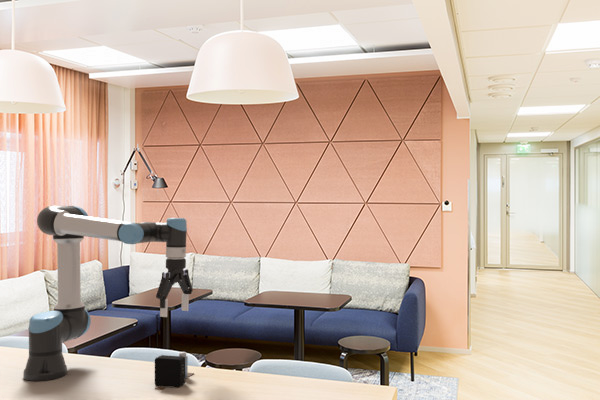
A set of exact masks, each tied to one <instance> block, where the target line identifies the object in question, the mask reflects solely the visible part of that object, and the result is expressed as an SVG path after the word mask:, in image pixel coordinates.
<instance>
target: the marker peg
mask: <svg viewBox="0 0 600 400" xmlns="http://www.w3.org/2000/svg"><path fill="white" fill-rule="evenodd" d="M178 356H182V357H185V379H187V378H188V377H187V376H188V373H189V372H188V371H189V369H188V363H189V362H188V360H189V359H188V355H187V352H186V351H179V353H178ZM186 377H187V378H186Z"/></svg>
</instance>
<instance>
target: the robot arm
mask: <svg viewBox="0 0 600 400" xmlns="http://www.w3.org/2000/svg"><path fill="white" fill-rule="evenodd" d="M36 223H37V228H38V229H39V230H40V231H41V232H42V233H43V234H45V235H48V236H52V240H53V241H54V242H55V243H56V244H57V245H56V246H57V249H56V252H57V254H56V255H57V257H56V258H57V263H56V264H57V303H56V305H55V306H54V307H53V310H47V311H42V312H38V313H36V314H34V315H32V316H31V317H30V319H29V325H28V358H27V362H26V365H25V368H24V369H23V374H22V375H23V380H26V381H29V382H31V381H32V382H41V381H42V382H43V381H44V382H45V381H50V380H56V379H59V378H62V377H64V376H66V375H67V374H68V366H67V365H66V360H65V358H64V354H63V343H66V342H68V341H72V340H76V339H78V338H80V337H82V336H84V335H86V333H87V332H88V331H89V329H90V327H91V323H92V321H91V320H92V317H91V314H90V313H89V312H88V310H87V309H86V305H85V303H84V302H83V301H82V299H81V297H82V296H81V290H82V289H81V286H82V285H81V242H82V241H83V240H84V239H85V238H84V237H88V238H95V239H100V240H101V239H102V240H109V241H115V242H121V243H123V244H124V245H125V244H126V245H136V244H144V243H165V244H166V247H165V258H166V259H165V268H166V269H167V271H162V272H161V280H160V283H159V285H158V288H157V293H156V295H155V298H156V299H157V300H159V309H160V311H159V317H160V318H161V317H162V318H168V309H169V308H168V306H169V305H168V302H169V301H168V300H169V299H168V296H169V293H170V291H171V289H172V287H173V286H174V285H175V284H177V283H178V286H179V287H180V290H181V291H182V292H183V293H182V294H181V309H180V310H181V311H184V312H189V303H190V302H189V301H190V299H189V298H190V295H191V294H192V292H193V286H192V283H191V279H190V274H189V269H187V268H186V266H187V259H186V257H187V233H188V228H187V219H186V218H184V217H169V218H167V219H166V222H153V221H143V222H131V221H125V220H124V221H123V220H122V221H121V220H116V219H109V218H100V217H94V216H89V215H88V213H87V212H86V211H85V210H84V209H83V208H82V207H80V206H75V205H50V206H46V207H44V208H43V209H42V210H41V211H39V213H38V215H37V218H36Z"/></svg>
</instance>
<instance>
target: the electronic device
mask: <svg viewBox="0 0 600 400" xmlns="http://www.w3.org/2000/svg"><path fill="white" fill-rule="evenodd" d="M185 384H186V378H185V357H182V356H179V355H167V354H165V355H164V354H163V355H162V354H161V355H159V356H157V357H155V358H154V385H155V386H156V387H165V388H166V387H167V388H175V389H176V388H180V387H182V386H183V385H185Z"/></svg>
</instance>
